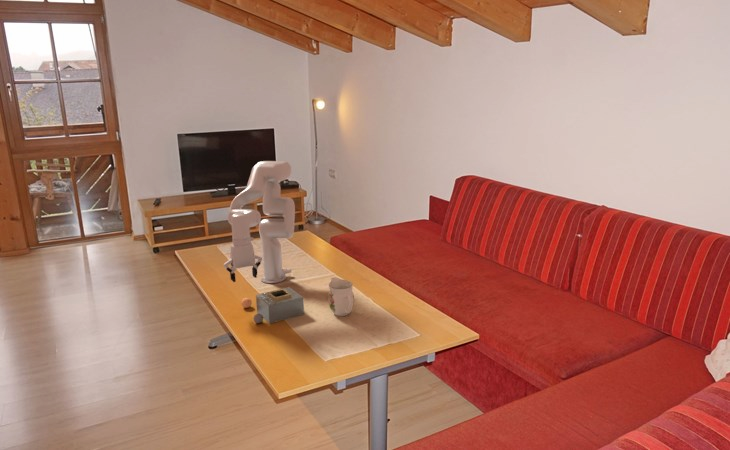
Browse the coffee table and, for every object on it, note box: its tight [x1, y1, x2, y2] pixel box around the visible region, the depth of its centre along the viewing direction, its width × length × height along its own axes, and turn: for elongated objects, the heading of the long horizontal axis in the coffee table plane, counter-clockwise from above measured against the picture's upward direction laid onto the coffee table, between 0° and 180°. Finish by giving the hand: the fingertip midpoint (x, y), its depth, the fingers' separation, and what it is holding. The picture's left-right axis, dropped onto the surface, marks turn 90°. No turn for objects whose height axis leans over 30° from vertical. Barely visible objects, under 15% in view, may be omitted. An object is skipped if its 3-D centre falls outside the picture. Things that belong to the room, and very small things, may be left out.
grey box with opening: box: [255, 286, 305, 324], centre depth 235 cm, size 16×14×9 cm
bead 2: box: [253, 313, 264, 324], centre depth 227 cm, size 4×4×4 cm
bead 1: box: [241, 297, 253, 309], centre depth 242 cm, size 4×4×4 cm
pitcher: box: [327, 277, 355, 317], centre depth 233 cm, size 11×18×14 cm, turn 27°
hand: (244, 278), depth 238 cm, fingers open, 9 cm apart
